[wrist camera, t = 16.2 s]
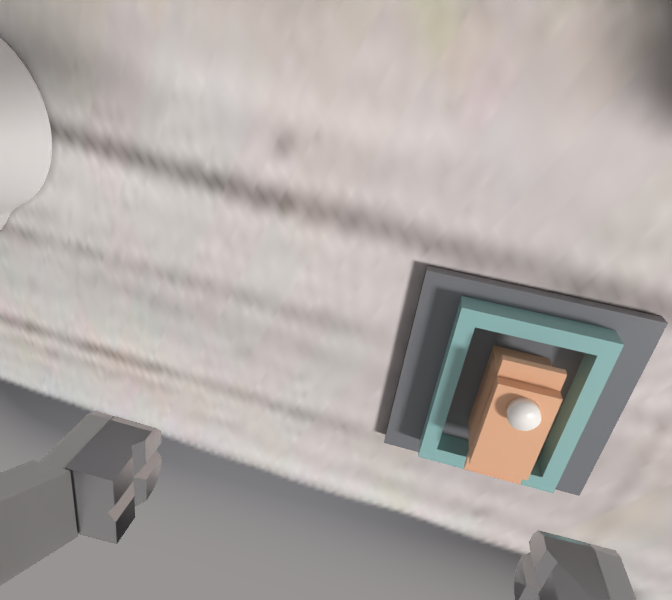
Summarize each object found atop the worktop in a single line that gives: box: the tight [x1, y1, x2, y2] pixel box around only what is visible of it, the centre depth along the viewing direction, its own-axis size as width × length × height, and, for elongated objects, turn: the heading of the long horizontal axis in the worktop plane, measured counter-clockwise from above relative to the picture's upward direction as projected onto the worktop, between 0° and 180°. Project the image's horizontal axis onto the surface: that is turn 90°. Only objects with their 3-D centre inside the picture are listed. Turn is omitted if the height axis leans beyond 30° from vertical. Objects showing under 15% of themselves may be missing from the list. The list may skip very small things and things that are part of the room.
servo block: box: [464, 345, 567, 484], centre depth 34 cm, size 4×10×6 cm, turn 172°
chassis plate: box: [384, 265, 668, 495], centre depth 36 cm, size 16×16×3 cm
